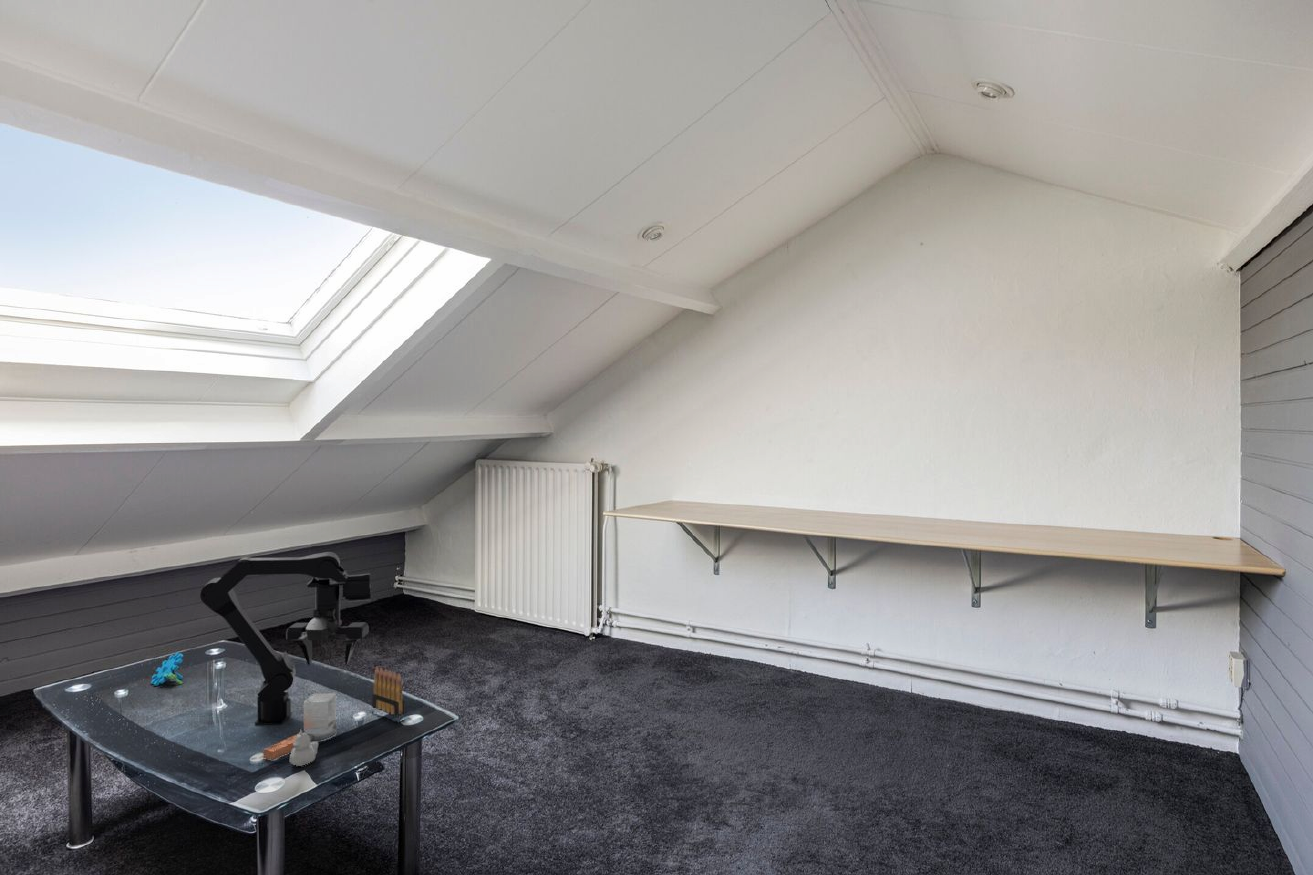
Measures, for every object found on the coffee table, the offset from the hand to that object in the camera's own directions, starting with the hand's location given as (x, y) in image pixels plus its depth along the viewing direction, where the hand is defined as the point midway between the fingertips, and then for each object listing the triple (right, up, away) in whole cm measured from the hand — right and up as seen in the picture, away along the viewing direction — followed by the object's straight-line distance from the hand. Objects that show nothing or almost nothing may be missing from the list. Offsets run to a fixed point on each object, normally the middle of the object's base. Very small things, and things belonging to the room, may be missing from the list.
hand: (328, 664), depth 196 cm
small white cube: (+4, -10, -14) cm, 17 cm away
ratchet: (+2, -13, -18) cm, 23 cm away
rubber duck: (+7, -14, -28) cm, 32 cm away
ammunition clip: (+16, -13, -2) cm, 20 cm away
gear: (-54, -12, +22) cm, 60 cm away
